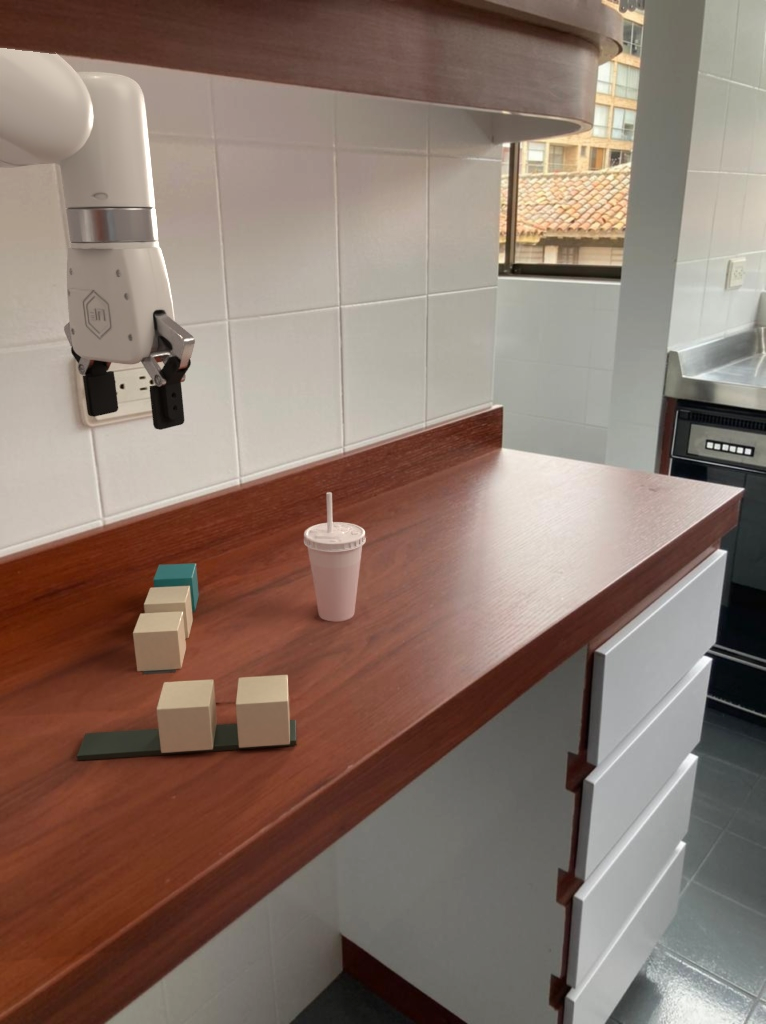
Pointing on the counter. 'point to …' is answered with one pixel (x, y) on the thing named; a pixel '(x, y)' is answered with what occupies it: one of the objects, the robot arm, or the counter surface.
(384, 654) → the counter surface
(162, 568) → the teal rectangular block
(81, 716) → the counter surface
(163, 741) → the dark strip with cubes
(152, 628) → the beige double cube
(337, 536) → the smoothie
